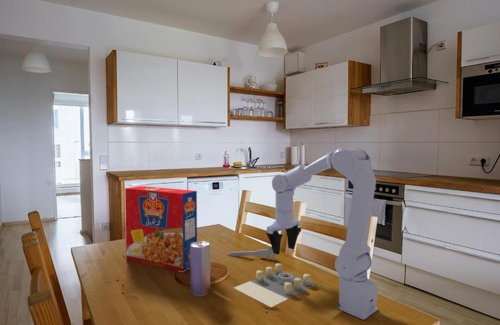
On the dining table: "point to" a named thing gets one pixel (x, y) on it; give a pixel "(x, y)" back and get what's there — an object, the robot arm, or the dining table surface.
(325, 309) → the dining table surface
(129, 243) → the pasta box
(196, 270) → the beverage can
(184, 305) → the dining table surface
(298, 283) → the board
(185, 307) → the dining table surface
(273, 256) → the caliper
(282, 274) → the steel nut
